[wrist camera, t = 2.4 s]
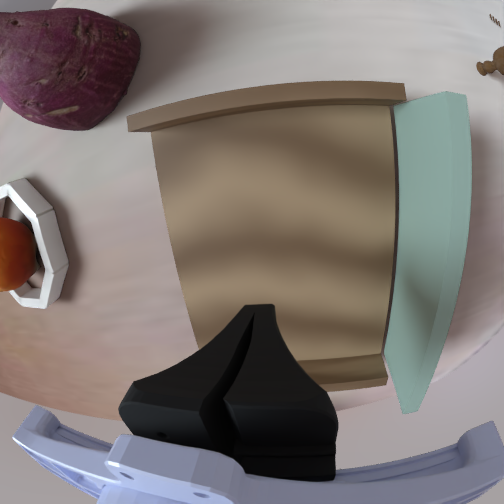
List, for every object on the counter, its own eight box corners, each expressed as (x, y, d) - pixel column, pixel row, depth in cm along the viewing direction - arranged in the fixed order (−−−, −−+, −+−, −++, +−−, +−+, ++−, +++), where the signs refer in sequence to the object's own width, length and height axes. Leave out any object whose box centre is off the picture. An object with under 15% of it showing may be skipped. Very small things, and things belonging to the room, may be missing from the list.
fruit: (53, 296, 24) (-9, 312, 18) (38, 261, 28) (-14, 272, 22) (48, 228, 21) (-24, 240, 15) (36, 201, 25) (-22, 209, 19)
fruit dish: (82, 299, 25) (68, 311, 23) (19, 295, 28) (7, 304, 26) (46, 167, 20) (28, 172, 18) (-11, 196, 23) (-25, 201, 21)
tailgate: (395, 351, 21) (417, 411, 15) (383, 352, 22) (402, 414, 15) (409, 107, 14) (466, 95, 8) (393, 106, 15) (445, 91, 8)
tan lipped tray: (376, 352, 23) (385, 385, 19) (207, 359, 26) (196, 390, 22) (381, 94, 15) (403, 83, 12) (156, 119, 18) (126, 116, 14)
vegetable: (82, 46, 19) (-22, -3, 4) (162, 22, 16) (48, -75, 2) (52, 139, 20) (-78, 119, 6) (128, 132, 18) (-55, 76, 3)
